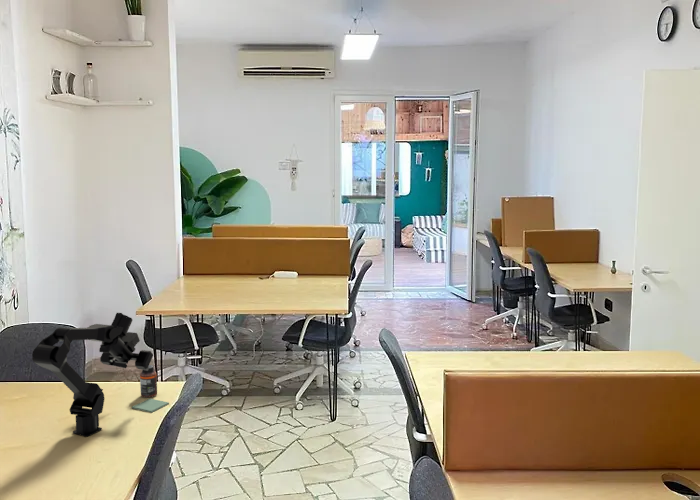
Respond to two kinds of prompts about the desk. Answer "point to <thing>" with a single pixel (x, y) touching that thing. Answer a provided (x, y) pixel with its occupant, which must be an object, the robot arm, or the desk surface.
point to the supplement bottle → (148, 383)
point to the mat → (150, 405)
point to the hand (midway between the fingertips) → (137, 368)
